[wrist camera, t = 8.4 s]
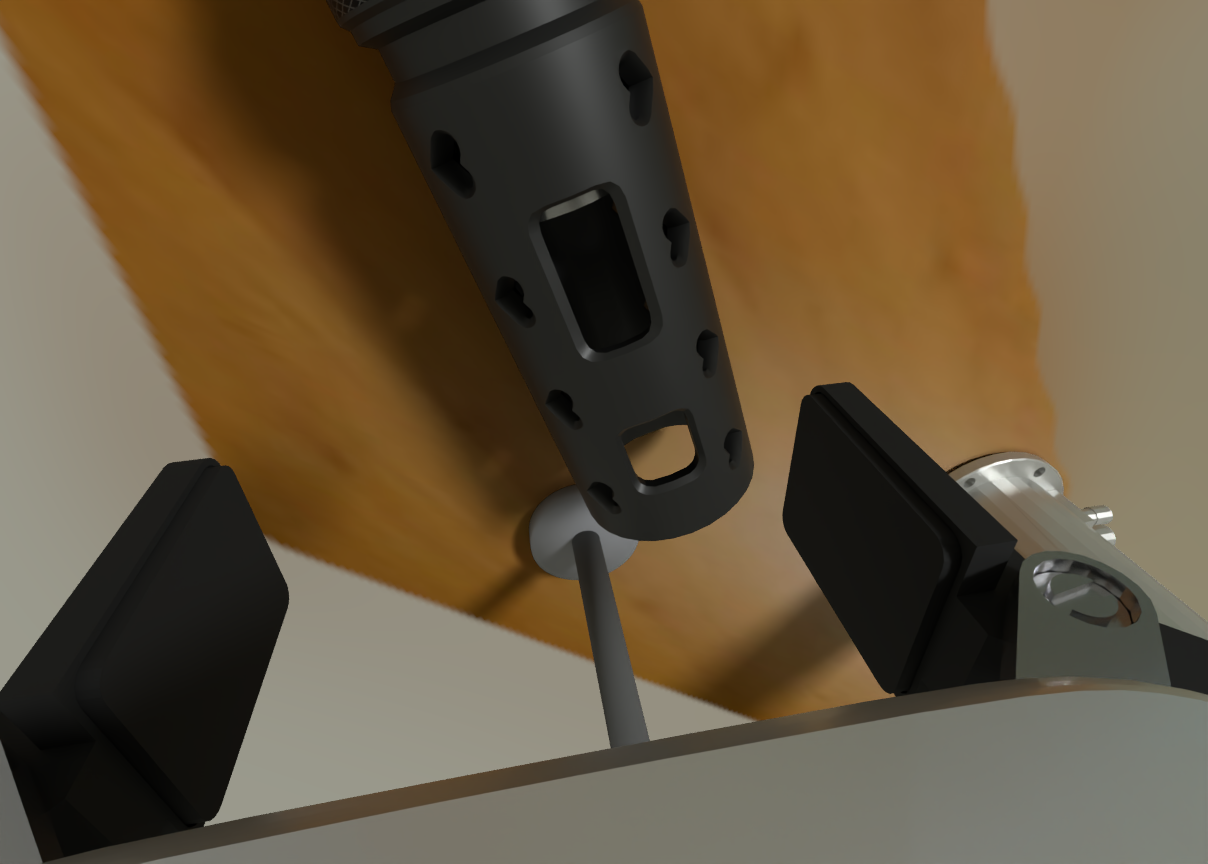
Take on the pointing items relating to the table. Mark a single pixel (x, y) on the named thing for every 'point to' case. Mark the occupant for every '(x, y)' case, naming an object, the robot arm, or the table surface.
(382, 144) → the table surface
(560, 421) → the muzzle brake
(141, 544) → the robot arm
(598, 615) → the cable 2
